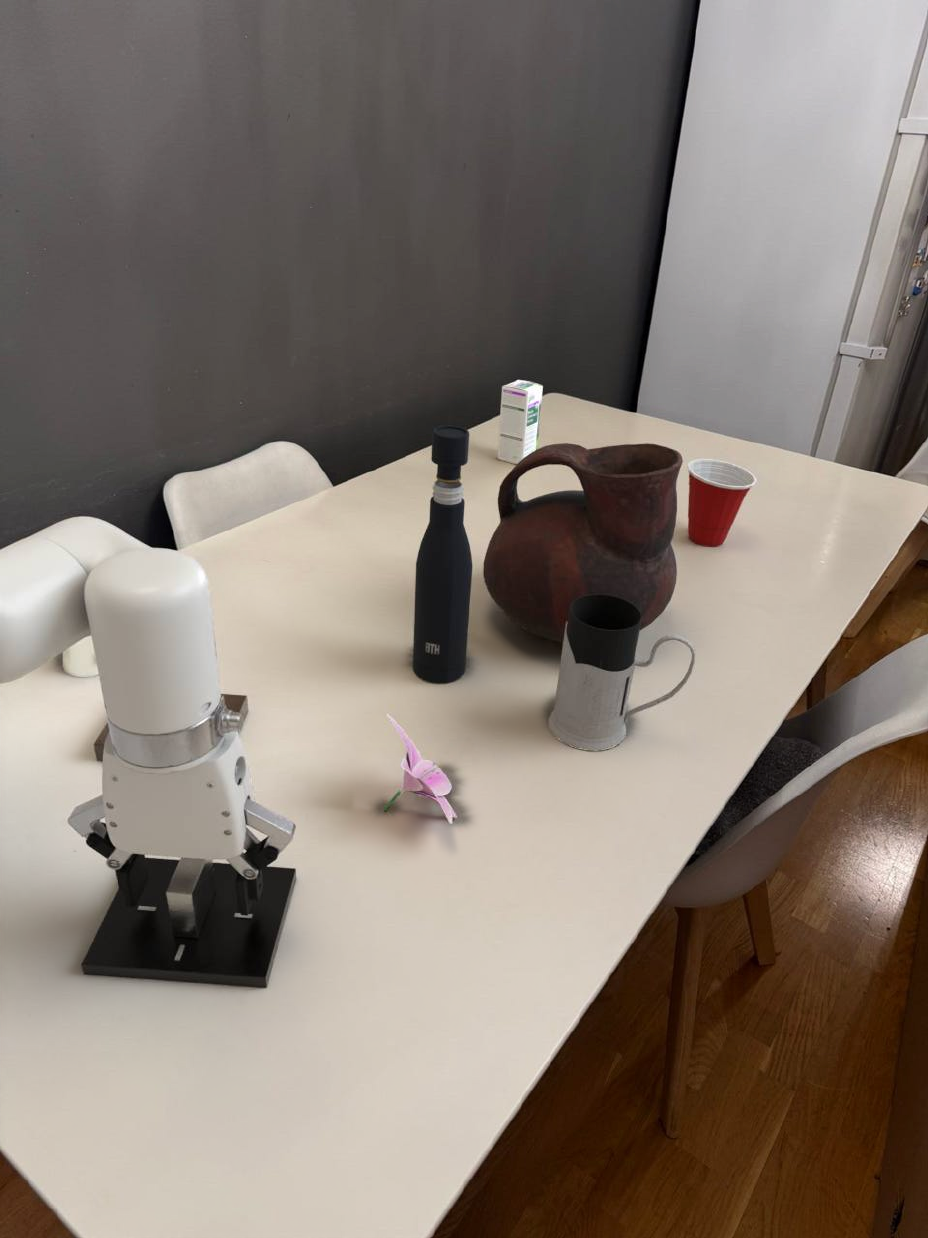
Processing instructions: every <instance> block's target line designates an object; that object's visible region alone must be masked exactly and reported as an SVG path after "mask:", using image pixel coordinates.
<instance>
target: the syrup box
mask: <svg viewBox="0 0 928 1238" xmlns="http://www.w3.org/2000/svg"><path fill="white" fill-rule="evenodd" d="M543 388H544V386H543V384H540V383H536V382H534V381H529V380H521V379H517V380H515V381H513V382H510V383H506V384H505V385H502V386H501V396H500V397H501V398H500V412H499V413H500V414H499V426H498V427H499V428H498V429H499V430H498V441H497V442H498V443H497V459H498V460H500V461H503V462H506V463H510V464H513V465H517V464H518V463H519V462H520V461H521V460H522V459H523V458H524V457H526V456H527V455H529V454H530V453H532V452H533V451H535V450H537V449H539V447H538V446H539V435H540V423H541V412H542V411H541V410H542V402H543V401H542V400H543Z"/></svg>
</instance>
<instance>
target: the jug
mask: <svg viewBox="0 0 928 1238" xmlns="http://www.w3.org/2000/svg"><path fill="white" fill-rule="evenodd" d="M683 462H684V460H683V456H682V454H681V452H679V451H678V450H676V449H674V448H670V447H668V446H665V445H661V444H657V443H645V442H644V443H632V444H631V443H626V444H625V443H624V444H617V445H616V444H615V445H607V446H601V447H594V448H586V447H584V446H583V445H579V444H575V443H568V442H562V443H552V444H548V445H544V446H542V447H540V448H539V447H538V448H537V450H535V451H533V452H532V453H530V454H529V455H527V456H526V457H524V458H523V459H522V460H521V461H520V462H519V463H518V464H515V466H514V467H513V468H512V469H511V471H509V472H508V474H506V476H505V477H504V479H503V480H502V481H501V484H500V485H499V488H498V489H499V490H498V495H497V508H498V514H499V523H498V525H497V527H496V528H495V530H494V531H493V533H492V535H491V538H490V540H489V542H488V545H487V549H486V552H485V555H484V561H483V567H482V569H483V570H482V575H483V579H484V583H485V586H486V589H487V592H488V594H489V595H490V597H491V599H492V600H493V601H494V603H495V604H496V605H497V607H498V608H499V609H500V610H501V611H502V612H503V613H504V614H505V615H506V616H507V618H509V619H510V620H511V622H513V623H515V624H516V625H518V626H519V627H521V628H522V629H524V630H525V631H527V632H528V633H531V634H533V635H536V636H538V637H540V638H543V639H547V640H551V641H553V642H554V641H555V642H559V643H562V644H563V641H564V634H565V627H566V622H567V621H568V617H569V610H570V605H571V603H572V602H573V601H574V600H575V599H577V598H579V597H582V596H585V595H591V594H604V595H611V596H616V597H619V598H622V599H625V600H627V601H629V602H631V603H632V604H634V605H635V606H636V607H637V608H638V609H639V610H640V612H641V614H642V620H641V626H640V631H641V630H644V629H645V628H646V627H648V626H649V625H651V624H652V623H654V622H655V621H656V619H658V618H659V617H660V616H661V614H663V612H664V611H665V610H666V608H667V607H668V605H669V603H670V602H671V600H672V598H673V595H674V592H675V588H676V584H677V576H678V569H677V568H678V567H677V559H676V555H675V550H674V548H673V545H672V541H673V537H674V534H675V530H676V525H677V514H678V492H677V482H678V477H679V474H680V471H681V468H682V465H683ZM550 465H551V466H552V465H553V466H554V465H556V466H557V465H558V466H565V467H568V468H570V469H571V470H572V471H573V472H574V473H575V475H576V476H577V478H578V480H579V483H580V486H581V488H582V490H580V489H579V490H577V489H571V490H570V489H569V490H568V489H567V490H561V491H559V490H558V491H555V492H550V493H546V494H543V495H539V496H537V497H534V498H531V499H528V500H525V501H523V500H521V499H520V498H519V494H518V483H519V479H521V477H522V476H523V475H525V474H526V473H527V472H529V471H531V470H533V469H536V468H540V467H543V466H550Z"/></svg>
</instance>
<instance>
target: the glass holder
mask: <svg viewBox="0 0 928 1238" xmlns="http://www.w3.org/2000/svg"><path fill="white" fill-rule="evenodd" d="M641 620H642V614H641V612H640V610H639V609H638V608H637V607H636V606H635V605H634V604H632V603H631V602H629V601H627V600H625V599H622V598H619V597H616V596H611V595H604V594H591V595H585V596H582V597H579V598H577V599H575V600H574V601H573V602H572V603H571V605H570V610H569V617H568V621H567V622H566V627H565V634H564V641H563V643H562V650H561V657H560V662H559V669H558V670H559V672H558V679H557V685H556V693H555V700H554V706H553V707H554V709H553V710H552V712H551V713H550V715H549V716H548V722H549V724H548V728H549V731H550V733H551V734H552V735H553V736H554V737H555V738H556V737H557V738H559V739H560V740H561V741H562V742H564V743H566V744H568V745H571V746H573V747H576V748H582V749H587V750H602V749H603V750H604V749H606V748H607V749H608V748H609V747H610V748H611V747H613V746H614V745H616V744H618V743H620V742H621V741H622V740H623V739H624V737H625V738H626V736H627V726H626V724H627V723H628V719H629V718H630V717H631V716H633V715H635V714H637V713H639V712H642V711H644V710H647V709H650V708H652V707H655V706H656V705H659V704H661V703H663V702H666V701H667V700H669V699H671V698H673V697H674V696H675V695H676V694H677V693H679V691H680V690H681V689H682V688H683V687H684V686H685V684H687V682H688V680H689V678H690V677H691V675H692V672H693V669H694V665H695V663H696V662H695V661H696V649H695V647H694V645H693V643H692V642H691V641H689V639H688V638H685V637H684V636H681V635H679V634H678V635H677V634H667V635H665V636H662V637H661V638H659V639H658V640H657V641H656V642H655V643H654V645H653V647H652V649H651V652H650V656H649V659H648V660H646V661H642V660H641V661H640V660H637V657H636V652H637V647H638V641H639V636H640V631H641V630H640V626H641ZM668 641H678V642H680V643H682V644H685V645H686V646H687V648H689V650H690V653H691V659H690V660H691V661H690V663H689V667H688V669H687V672H686V673H685V675H684V676H683V678H682V679H681V681H679V683H678V684H677V685H676V686H675V687H674V688H673V689H672V690H671V691H669V692H668V693H665V694H664V695H662V696H660V697H658V698H656V699H654V700H651V701H649V702H646V703H644V704H641V705H638V706H636V707H634V708H632V709H630V710H629V711H627V709H628V704H629V699H630V693H631V689H632V682H633V676H634V673H635V668H636V667H639V668H646V667H649V666H650V665H651V664H652V663H653V661H654V658H655V656H656V655H655V654H656V652H657V650H658V648H659V647H660V645H662V644H663V643H665V642H668ZM625 735H626V736H625ZM557 738H556V739H557ZM560 740H559V741H560ZM624 740H625V739H624ZM624 740H623V741H624ZM561 741H560V742H561ZM623 741H622V742H623ZM562 742H561V743H562ZM564 743H563V744H564ZM566 744H565V745H566ZM620 744H621V743H620ZM568 745H567V746H568ZM573 747H572V748H573ZM576 748H575V749H576ZM604 751H605V750H604Z"/></svg>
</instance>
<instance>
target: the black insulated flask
mask: <svg viewBox="0 0 928 1238" xmlns="http://www.w3.org/2000/svg"><path fill="white" fill-rule="evenodd" d="M431 433H432V434H431V435H432V436H431V439H432V440H431V457H430V458H431V462H432V463H433V464H435V465H437V466H436V467H437V470H436V475H435V477H436V480H435V481H434V484H433V486H432V490H433V491H432V496H431V497H430V500H429V519H428V520H429V521H428V524H427V527H426V529H425V531H424V534H423V537H422V539H421V541H420V544H419V548H418V551H417V556H416V561H415V581H414V610H413V611H414V613H413V618H414V619H413V640H412V641H413V645H412V671H413V673H414V675H415V676H416V677H417V678H418V679H421V680H422V681H424V682H427V683H430V684H437V685H441V684H443V685H444V684H450V683H454V682H456V681H458V680H460V679H461V678H462V677H463V676H464V675H465V672H466V666H467V665H466V664H467V653H468V652H467V651H468V636H469V621H470V608H471V594H472V592H471V591H472V577H473V557H472V550H471V544H470V541H469V538H468V534H467V530H466V528H465V524H464V521H465V519H464V518H465V506H466V505H465V504H466V501H465V499H464V498H463V497H464V493H463V492H464V486H463V483H462V481H461V480H462V475H461V474H462V473H461V472H462V466H465V465H466V464H468V461H469V450H470V449H469V448H470V447H469V446H470V432H469V430H468V429H467V428H464V427H462V426H458V425H441V426H436V427H435V428H433V429H432V432H431Z"/></svg>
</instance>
